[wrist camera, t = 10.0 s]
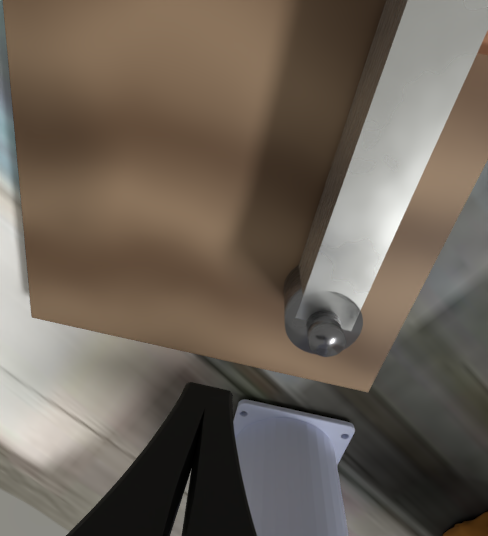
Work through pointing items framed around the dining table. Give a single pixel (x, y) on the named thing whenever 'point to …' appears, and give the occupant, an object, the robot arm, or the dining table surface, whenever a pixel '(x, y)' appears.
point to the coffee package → (471, 527)
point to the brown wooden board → (209, 170)
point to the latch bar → (379, 163)
